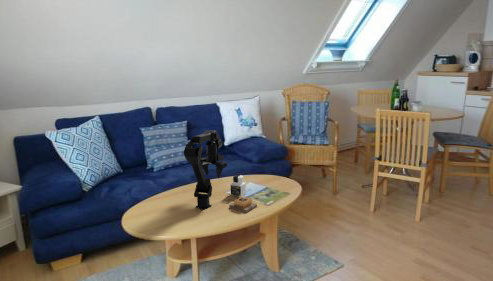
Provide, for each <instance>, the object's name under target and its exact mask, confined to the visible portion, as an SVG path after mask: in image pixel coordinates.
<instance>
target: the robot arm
mask: <svg viewBox="0 0 493 281" xmlns="http://www.w3.org/2000/svg"><path fill="white" fill-rule="evenodd" d="M190 139H191V140H190V141H189V142H187V143H186V144H185V147H184V150H183V156H184V159H185V160H186V161H187V162H188V163H190V164H191V167H192V170H193V173H194V176H195V179H196V185H195V189H194V193H193V196H194V198H196V200H197V202H196V203H197V205H195V208H197V209H199V210H200V209H201V210H203V211H204V210H207V209H208V208H210V207H212V204H210V198H211V197H212V194H213V193H212V192H213V186H212V182H211V179H210V178H207V177H206V176H208V175H209V165H213V166H215V171H216V176H217V179H220V177H221V175H222V171H223V170H224V169H225V168H227V167H228V163H227V161H225V160H224V157H225V156H224V155H221V154H220V153H219V152H218V151H217V149H219V148H221V147H222V146H223V143H224V141H223V140H222V139H221V137H220V134H219V132H218V130H212V129H211V130H210V129H205V131H203V133H201V134H197V135H193V136H192V137H191V138H190ZM205 142H206V143H205ZM203 143H205V146H206V153H205V156H206V157H202V153H203V150H204V149H203V145H202V144H203ZM195 144H198V145H199V147H194V145H195Z"/></svg>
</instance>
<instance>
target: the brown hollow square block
mask: <svg viewBox="0 0 493 281" xmlns="http://www.w3.org/2000/svg"><path fill="white" fill-rule="evenodd" d="M242 197H244V198H245V201H244V202H243V201H241V198H242ZM233 203H234V205H235V206H238V207H242V208H246V207H248V206H249V205H251V204H252V203H253V199H252V198H250V197H245V196H241V197H238V198H236V199H234V200H233Z"/></svg>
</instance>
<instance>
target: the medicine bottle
mask: <svg viewBox="0 0 493 281" xmlns="http://www.w3.org/2000/svg"><path fill="white" fill-rule="evenodd" d="M232 179H233V180H232V183H230V196H234V197H238V198H240V197H244V195H246V194H247V182H244V176H243V175H241V174H235V175H233V177H232Z"/></svg>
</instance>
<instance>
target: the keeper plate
mask: <svg viewBox="0 0 493 281" xmlns="http://www.w3.org/2000/svg"><path fill="white" fill-rule="evenodd" d="M241 197H242V198H241V201H243V202H244V201H245V198H244V197H245V196H241ZM228 207H229V209H232V210H235V211H239V212H242V213H245V214H247V213H249V212H251V211H252V210H254V209H256V208H257V207H258V204H257V203H254V202H252V204H251V205H249V206H248V207H246V208H242V207H238V206H235V205H234V202H232V203H231V204H230V205H228Z"/></svg>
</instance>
